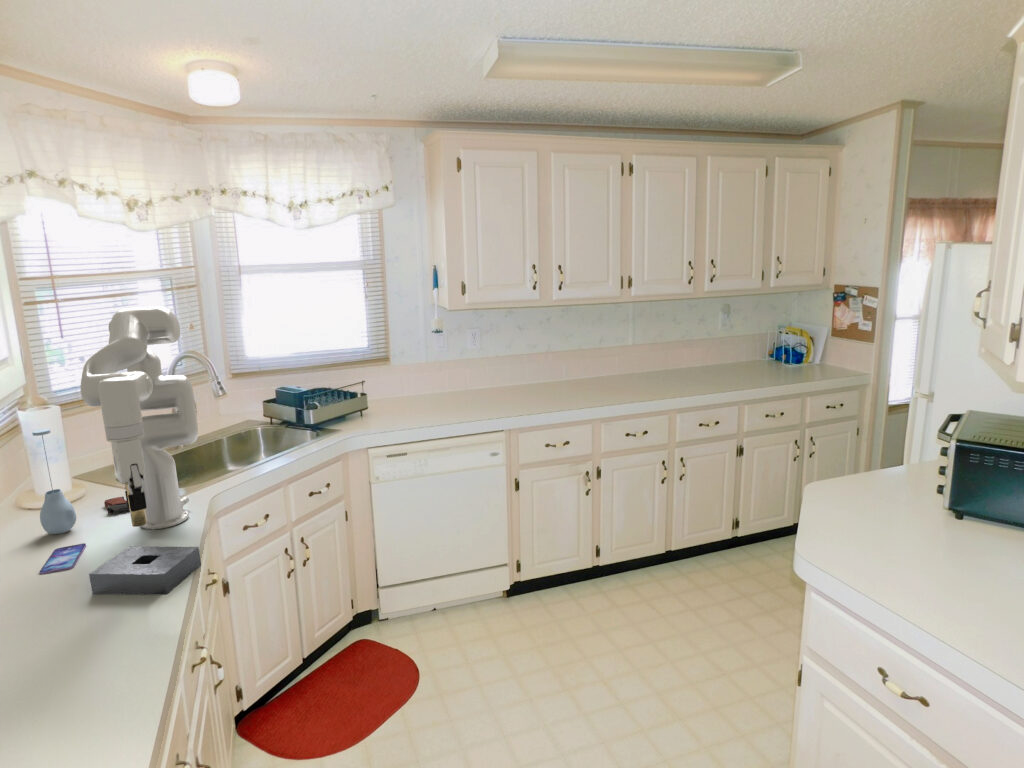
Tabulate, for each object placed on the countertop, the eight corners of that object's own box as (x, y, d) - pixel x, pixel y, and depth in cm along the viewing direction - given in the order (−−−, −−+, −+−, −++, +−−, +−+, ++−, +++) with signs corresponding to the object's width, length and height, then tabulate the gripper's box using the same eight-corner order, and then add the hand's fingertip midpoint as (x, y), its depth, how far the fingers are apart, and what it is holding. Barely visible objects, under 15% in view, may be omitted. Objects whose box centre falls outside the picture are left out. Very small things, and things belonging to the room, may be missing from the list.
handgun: (160, 488, 211) (166, 498, 201) (160, 496, 211) (166, 505, 202) (103, 499, 202) (107, 509, 192) (104, 506, 202) (108, 517, 192)
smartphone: (37, 573, 157) (54, 548, 171) (38, 576, 157) (55, 551, 171) (72, 566, 160) (87, 542, 173) (73, 569, 160) (87, 545, 174)
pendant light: (74, 524, 188) (56, 425, 182) (81, 531, 182) (62, 430, 176) (41, 533, 182) (21, 431, 176) (46, 541, 177) (26, 436, 171)
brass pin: (137, 521, 152) (131, 481, 150) (149, 521, 151) (143, 481, 149) (129, 526, 149) (122, 485, 147) (141, 526, 148) (135, 485, 146)
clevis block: (132, 564, 161) (129, 546, 160) (201, 565, 159) (198, 546, 158) (92, 593, 147) (88, 573, 146) (166, 594, 145) (163, 574, 144)
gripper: (100, 428, 149) (112, 503, 153) (112, 441, 137) (125, 522, 141) (136, 422, 154) (147, 494, 158) (151, 434, 142) (163, 512, 145)
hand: (137, 507), depth 149 cm, fingers closed on brass pin, 2 cm apart
